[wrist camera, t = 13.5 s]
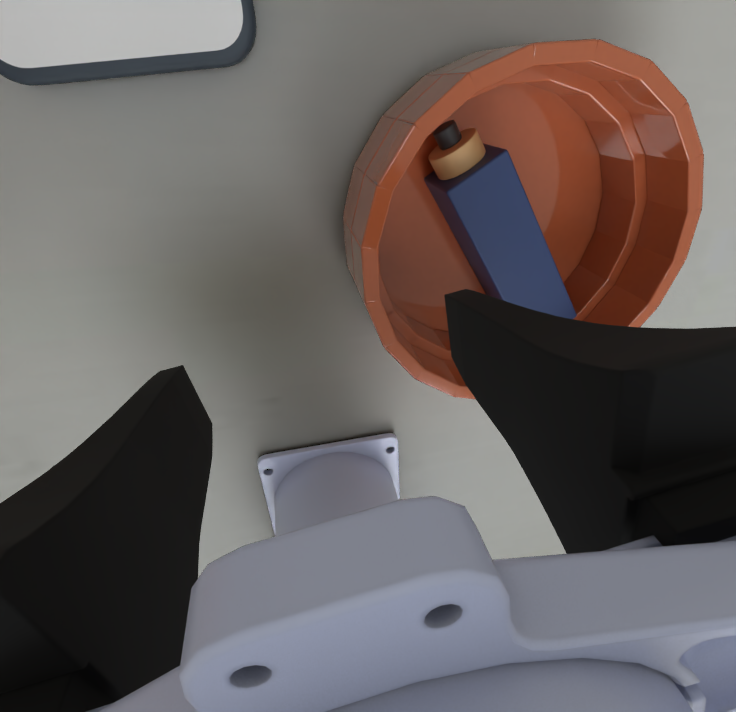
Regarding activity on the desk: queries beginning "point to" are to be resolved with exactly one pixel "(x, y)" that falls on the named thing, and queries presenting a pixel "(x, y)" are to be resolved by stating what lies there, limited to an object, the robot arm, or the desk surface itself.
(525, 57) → the bowl
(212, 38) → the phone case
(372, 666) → the robot arm
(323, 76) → the desk surface
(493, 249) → the pencil
